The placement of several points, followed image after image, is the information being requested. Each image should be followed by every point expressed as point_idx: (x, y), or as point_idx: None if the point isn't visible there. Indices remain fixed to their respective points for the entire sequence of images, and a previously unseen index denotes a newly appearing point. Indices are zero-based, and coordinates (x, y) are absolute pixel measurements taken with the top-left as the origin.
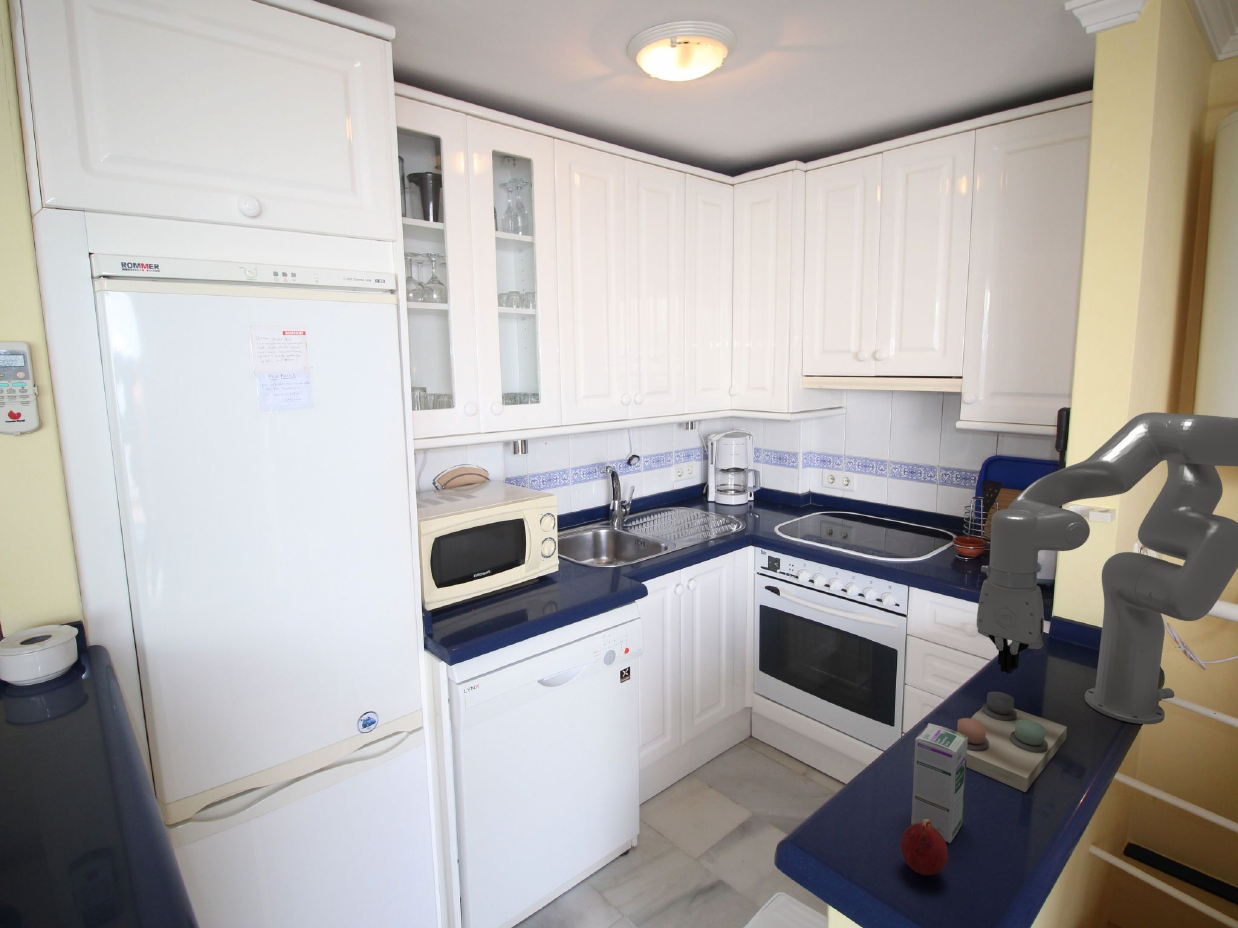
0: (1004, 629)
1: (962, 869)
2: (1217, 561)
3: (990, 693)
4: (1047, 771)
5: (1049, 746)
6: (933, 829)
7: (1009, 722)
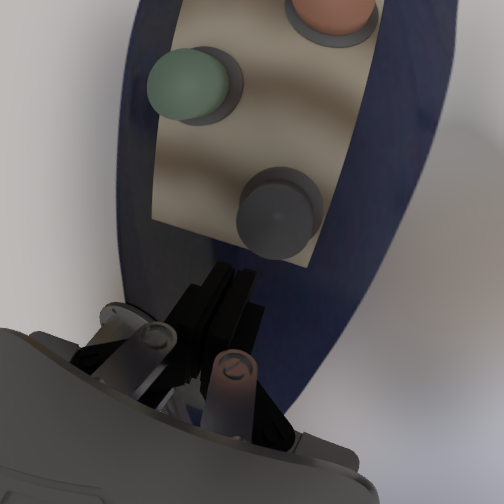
0: (107, 483)
1: None
2: None
3: (303, 237)
4: None
5: None
6: None
7: (254, 167)
